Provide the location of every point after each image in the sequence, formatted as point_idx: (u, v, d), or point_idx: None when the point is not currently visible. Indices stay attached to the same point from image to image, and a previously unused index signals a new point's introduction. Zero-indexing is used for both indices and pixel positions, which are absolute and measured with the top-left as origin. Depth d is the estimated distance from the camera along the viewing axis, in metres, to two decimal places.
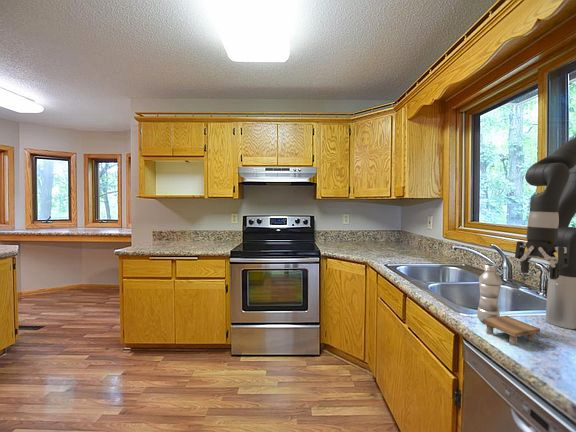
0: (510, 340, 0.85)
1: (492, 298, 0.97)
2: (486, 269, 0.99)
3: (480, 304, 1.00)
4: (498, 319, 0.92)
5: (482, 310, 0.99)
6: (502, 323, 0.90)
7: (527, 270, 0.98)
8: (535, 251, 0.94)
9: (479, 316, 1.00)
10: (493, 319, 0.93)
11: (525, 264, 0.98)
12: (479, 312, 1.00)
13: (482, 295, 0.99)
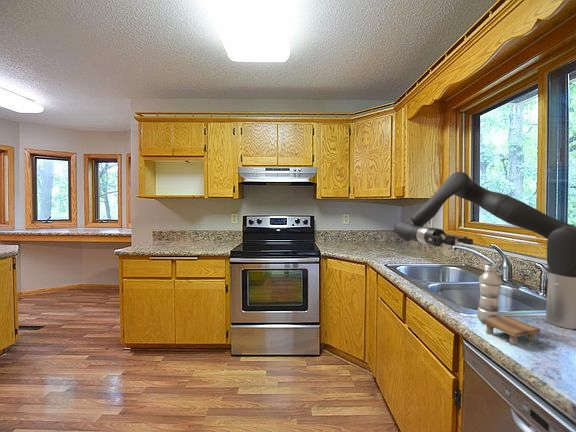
0: (510, 340, 0.85)
1: (492, 298, 0.97)
2: (486, 269, 0.99)
3: (480, 304, 1.00)
4: (498, 319, 0.92)
5: (482, 310, 0.99)
6: (502, 323, 0.90)
7: (469, 240, 1.11)
8: None
9: (479, 316, 1.00)
10: (493, 319, 0.93)
11: (464, 242, 1.13)
12: (479, 312, 1.00)
13: (482, 295, 0.99)
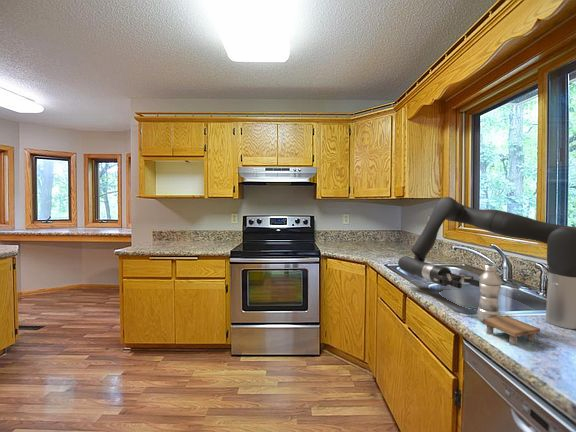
0: (510, 340, 0.85)
1: (492, 298, 0.97)
2: (486, 269, 0.99)
3: (480, 304, 1.00)
4: (498, 319, 0.92)
5: (482, 310, 0.99)
6: (502, 323, 0.90)
7: (476, 282, 1.09)
8: None
9: (479, 316, 1.00)
10: (493, 319, 0.93)
11: (471, 283, 1.11)
12: (479, 312, 1.00)
13: (482, 295, 0.99)
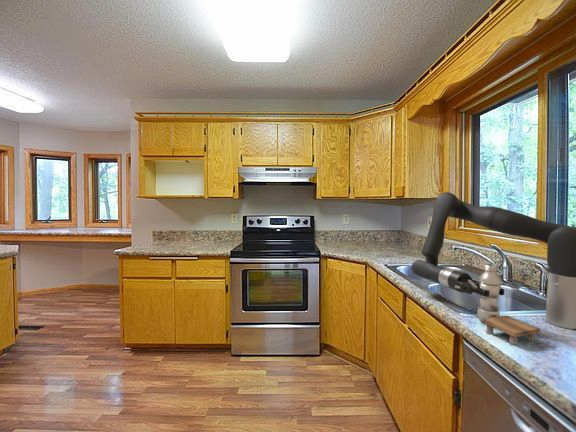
0: (510, 340, 0.85)
1: (492, 298, 0.97)
2: (486, 269, 0.99)
3: (480, 304, 1.00)
4: (498, 319, 0.92)
5: (482, 310, 0.99)
6: (502, 323, 0.90)
7: (500, 290, 0.99)
8: None
9: (479, 316, 1.00)
10: (493, 319, 0.93)
11: None
12: (479, 312, 1.00)
13: None
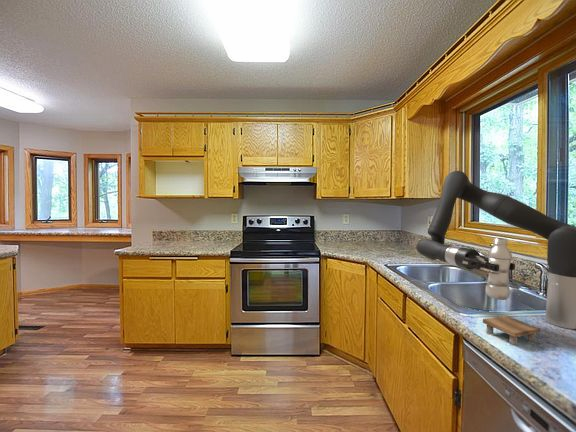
0: (510, 340, 0.85)
1: (502, 272, 0.92)
2: (496, 242, 0.94)
3: (489, 280, 0.96)
4: (498, 319, 0.92)
5: (491, 285, 0.95)
6: (502, 323, 0.90)
7: (510, 264, 0.94)
8: None
9: (488, 292, 0.95)
10: (493, 319, 0.93)
11: None
12: (488, 288, 0.95)
13: (491, 270, 0.95)
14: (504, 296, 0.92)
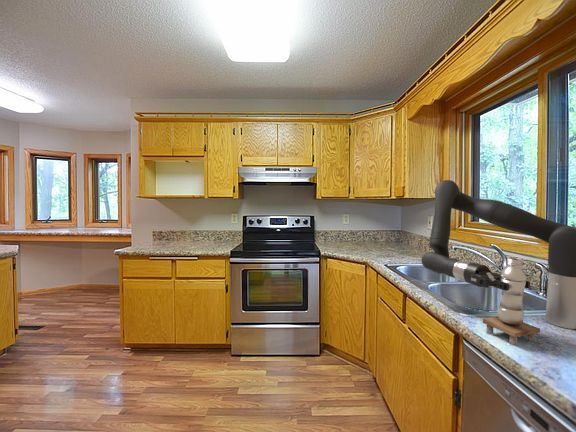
0: (510, 340, 0.85)
1: (516, 295, 0.87)
2: (509, 263, 0.88)
3: (502, 302, 0.90)
4: (498, 319, 0.92)
5: (504, 309, 0.89)
6: (502, 323, 0.90)
7: None
8: None
9: (500, 316, 0.89)
10: (493, 319, 0.93)
11: None
12: (500, 311, 0.89)
13: (504, 292, 0.89)
14: (518, 321, 0.86)
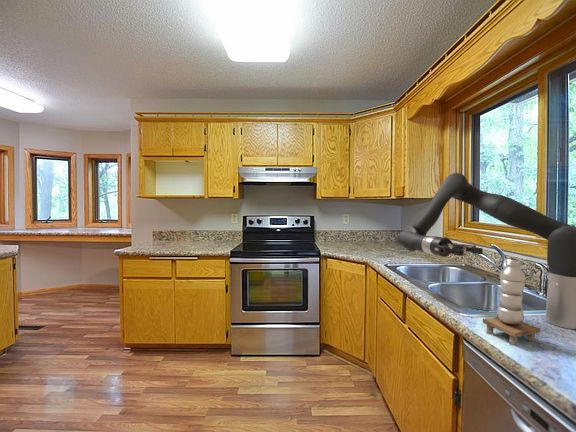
0: (510, 340, 0.85)
1: (516, 295, 0.87)
2: (508, 263, 0.88)
3: (501, 303, 0.90)
4: (498, 319, 0.92)
5: (503, 309, 0.89)
6: (502, 323, 0.90)
7: (479, 249, 1.03)
8: None
9: (500, 316, 0.89)
10: (493, 319, 0.93)
11: (473, 252, 1.06)
12: (500, 312, 0.89)
13: (504, 293, 0.89)
14: (518, 322, 0.86)
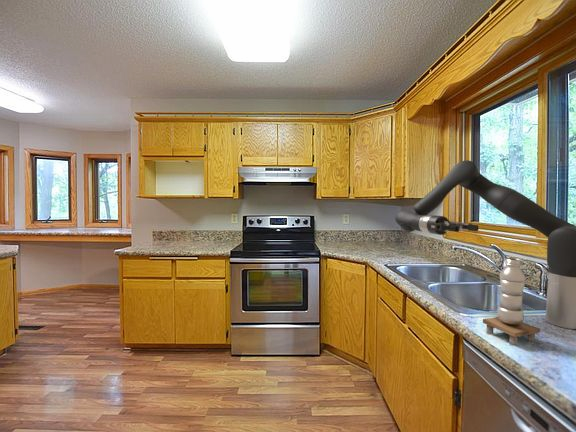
0: (510, 340, 0.85)
1: (516, 296, 0.87)
2: (508, 264, 0.88)
3: (501, 303, 0.90)
4: (498, 319, 0.92)
5: (503, 309, 0.89)
6: (502, 323, 0.90)
7: (474, 226, 1.05)
8: None
9: (500, 316, 0.89)
10: (493, 319, 0.93)
11: (469, 229, 1.07)
12: (500, 312, 0.89)
13: (504, 293, 0.89)
14: (518, 322, 0.86)
